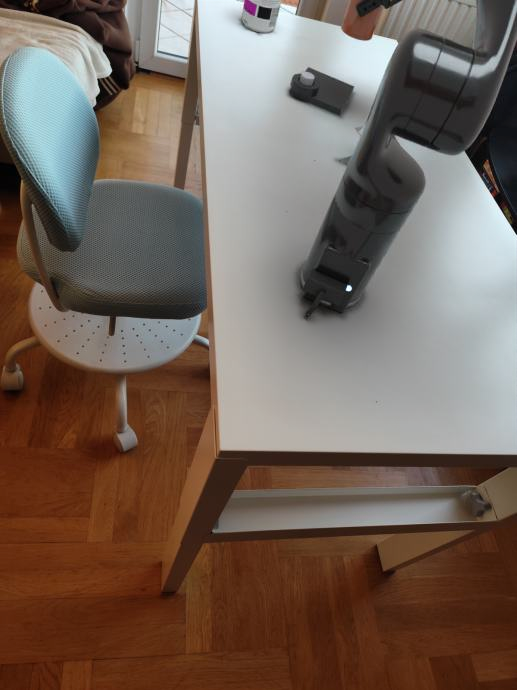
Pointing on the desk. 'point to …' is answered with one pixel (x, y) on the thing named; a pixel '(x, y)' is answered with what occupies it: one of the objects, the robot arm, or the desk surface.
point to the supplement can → (260, 14)
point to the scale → (322, 91)
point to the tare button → (306, 78)
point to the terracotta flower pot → (360, 22)
